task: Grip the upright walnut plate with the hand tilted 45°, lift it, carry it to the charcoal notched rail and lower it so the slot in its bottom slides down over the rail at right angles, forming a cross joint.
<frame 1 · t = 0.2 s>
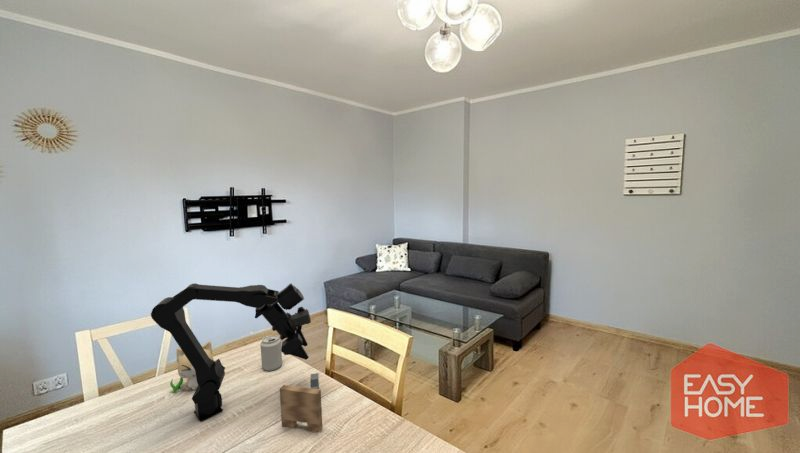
hand: (307, 351, 111), 15 cm above the table, tool tilted 35°, fingers open, 9 cm apart
walnut plate: (302, 427, 96), on the table
kitten: (196, 385, 118), on the table
charcoal rail: (314, 397, 110), on the table
can: (272, 367, 129), on the table
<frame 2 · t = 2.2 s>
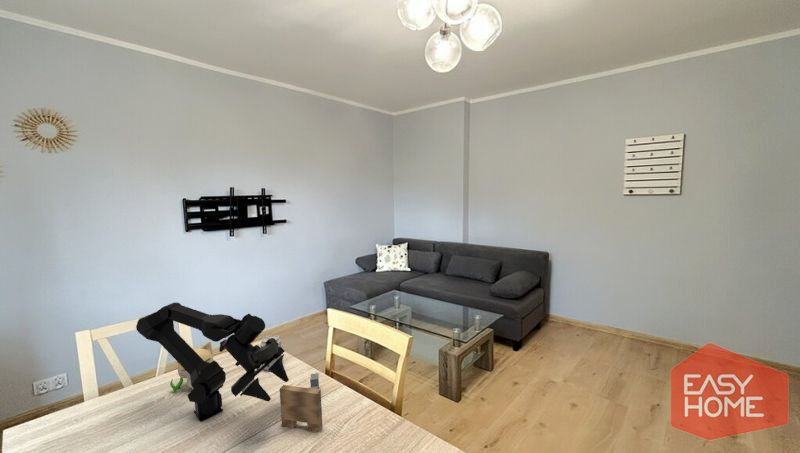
hand: (279, 390, 96), 11 cm above the table, tool tilted 45°, fingers open, 9 cm apart
nothing on the table moved.
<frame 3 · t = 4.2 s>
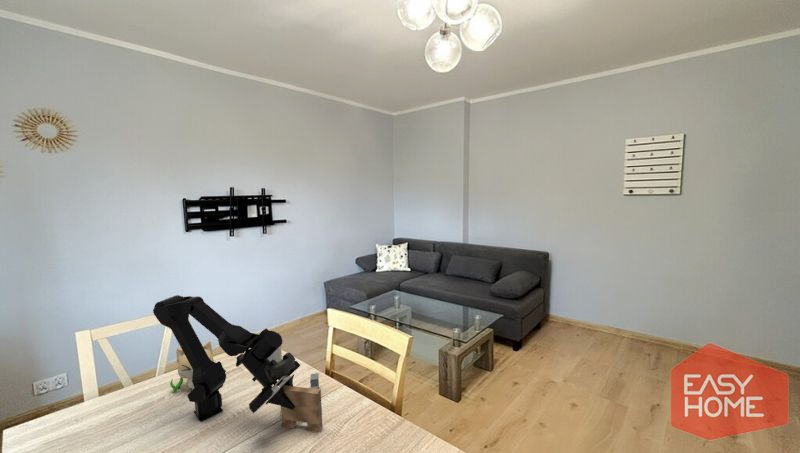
hand: (296, 405, 96), 7 cm above the table, tool tilted 45°, fingers closed on walnut plate, 2 cm apart
walnut plate: (302, 427, 96), on the table, touching gripper
everything else where it was.
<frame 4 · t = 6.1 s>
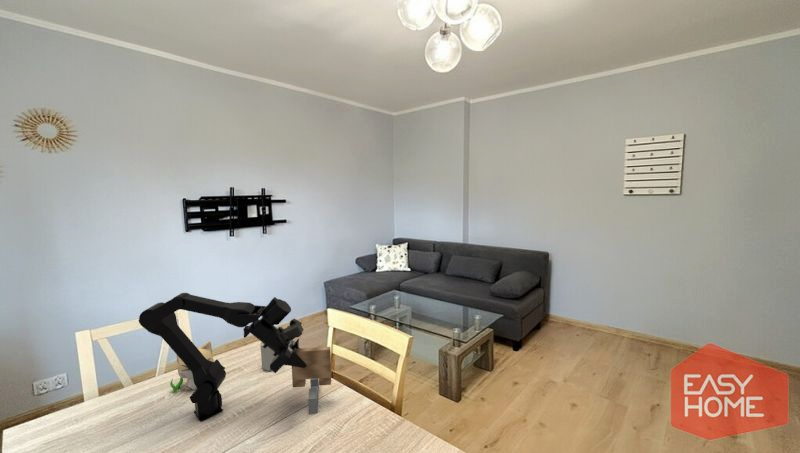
hand: (306, 364, 105), 13 cm above the table, tool tilted 45°, fingers closed on walnut plate
walnut plate: (312, 384, 106), point 7 cm above the table, touching gripper
everything else where it was.
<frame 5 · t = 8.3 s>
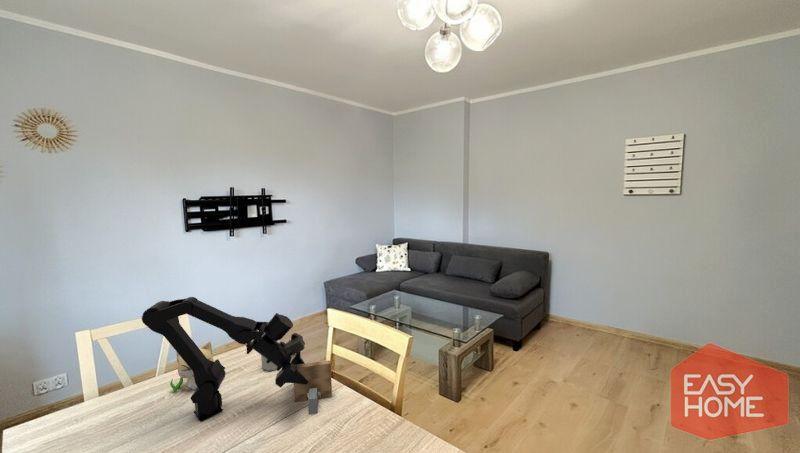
hand: (308, 377, 109), 8 cm above the table, tool tilted 45°, fingers open, 6 cm apart
walnut plate: (313, 397, 110), on the table, touching charcoal rail
everything else where it was.
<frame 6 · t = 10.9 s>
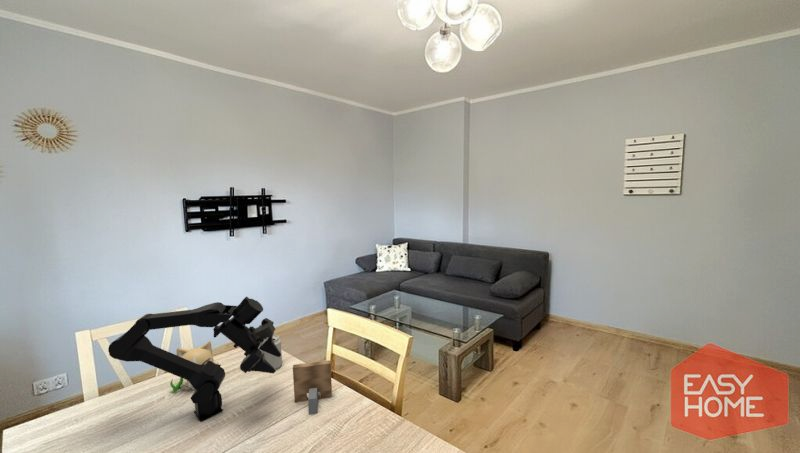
hand: (277, 363, 106), 13 cm above the table, tool tilted 45°, fingers open, 9 cm apart
nothing on the table moved.
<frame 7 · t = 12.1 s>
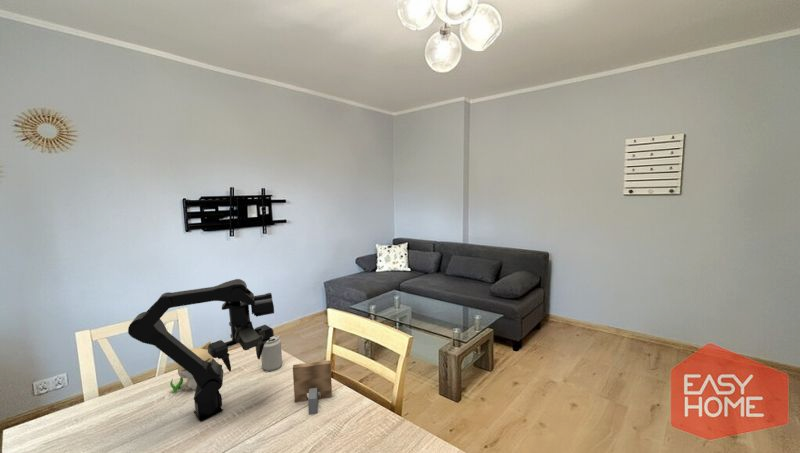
hand: (244, 364, 107), 13 cm above the table, tool pointing down, fingers open, 9 cm apart
nothing on the table moved.
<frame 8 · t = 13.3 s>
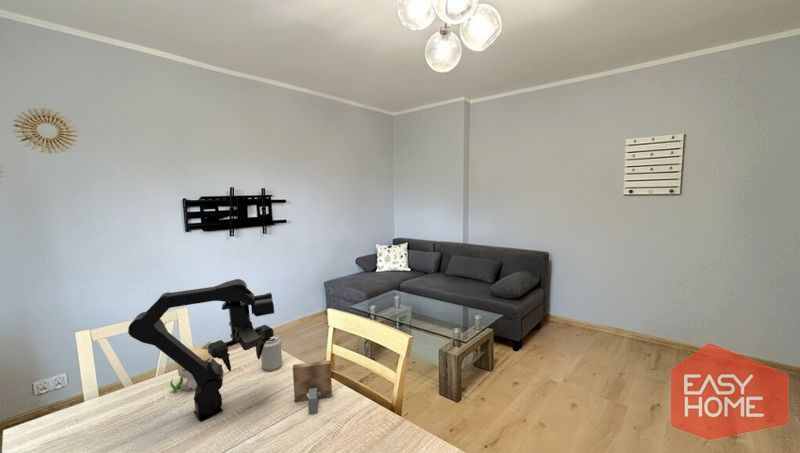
hand: (244, 364, 107), 13 cm above the table, tool pointing down, fingers open, 9 cm apart
nothing on the table moved.
at the end: walnut plate 0.2 cm off-centre on the charcoal rail, point 0.0 cm above the charcoal rail's base; walnut plate tilted 0°; the gripper is holding nothing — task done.
